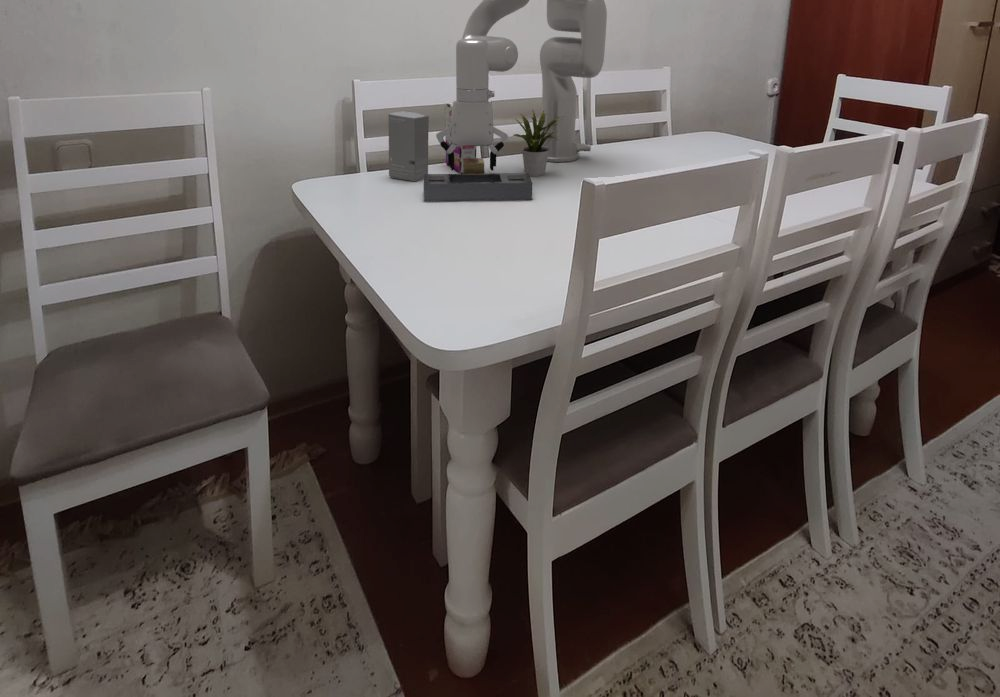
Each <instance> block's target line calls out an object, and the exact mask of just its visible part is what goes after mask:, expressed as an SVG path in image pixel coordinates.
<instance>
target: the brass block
mask: <svg viewBox="0 0 1000 697" xmlns="http://www.w3.org/2000/svg"><path fill="white" fill-rule="evenodd" d="M483 173H485V161H484V158H483V157H481V158H479V157H478V158H477V157H476V158H463V173H462V174H483Z"/></svg>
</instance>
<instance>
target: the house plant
mask: <svg viewBox="0 0 1000 697" xmlns="http://www.w3.org/2000/svg"><path fill="white" fill-rule="evenodd" d="M531 110H532V116H530V118H531V120H532V127H533V130H532V128H531V124H530V122H529V120H528V118H527V117H525V115H524V114H522V113H520V116H521V118H522V121H523V124H522V123H521V121H519V120H517V118H514V119H515V121H516V122H517V123H518V124H519V125H520V127H521V128H522V129H523V131H524V132H525V134H518V133H515V134H513V135H512V137H519V138H521V139H523V140H524V141H525V142H526V145H527V146H526V147H525V146H524V147H523V148H521V153H522V160H523V168H524V173H528V174H529V176H530V177H531V176H532V177H539V176H540V177H541V176H544V175H545V174H546V173H545V172H546V167H547V163H548V161H547V159H548V154H549V149H548V148H544V147H542V145H543V144H544V142H545V141H546V140H547V139H548V138H551V139H552V138H554V139H557V138H555V137H552V136H553V135H551V134H553V133H554V132H557V131H554V132H552V133H547V131H548V130H549V128H550V127H551V126H555V125H557V124H554V123H555V122H557V121H555V120H558V121H560V120H561V119H559V118H561V117H558V118H556V119H554V120H552V121H551V122H550V123H549V124H548V125H547V126H545V127H543V125H544V123H545V116H546V114H544V110H543V112H542V111H541V115H540V118H539V119H538V120H537V116H536V113H535V111H534V109H533V108H531ZM563 117H564V116H563ZM542 127H543V128H542ZM546 129H547V130H546ZM542 130H543V132H542V133H541V131H542ZM545 130H546V132H545ZM532 131H533V132H532ZM544 132H545V133H544ZM546 134H549V135H547V136H546V137H544V136H545V135H546ZM556 137H557V136H556ZM541 138H542V139H541ZM551 139H550V140H551ZM550 140H549V141H550ZM557 140H558V139H557ZM549 141H548V142H549ZM548 142H547V143H548ZM547 143H546V144H547Z"/></svg>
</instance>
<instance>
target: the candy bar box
mask: <svg viewBox="0 0 1000 697" xmlns="http://www.w3.org/2000/svg"><path fill="white" fill-rule="evenodd" d="M453 102H454V101H453ZM453 102H451V101H450V102H444V126H445V127H444V130H445V129H446V128H448V127H450V126H451V116H452V106H453ZM444 137H445V139H444V140H445V142H446V143H447V144H448V145H450V144H451V142H452V140H451V133H450V134H448V135H446V136H444ZM453 152H454V170H453V171H457V172H458V173H459V174H463V158H477V146H457V147H456V148H455V149H454V150H453ZM445 164H447V165H446V166H448V153H447V152H446V151H445ZM448 167H450V168H451V166H448Z"/></svg>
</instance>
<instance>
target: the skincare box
mask: <svg viewBox="0 0 1000 697" xmlns="http://www.w3.org/2000/svg"><path fill="white" fill-rule="evenodd" d="M429 119H430V116H429V115H428V114H422V113H418V112H409V111H405V110H404V111H403V110H402V111H395V112H389V113H388V176H389V178H390V179H398V180H404V181H412V182H417V181H420V180H422V179H423V180H424V174H429Z"/></svg>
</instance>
